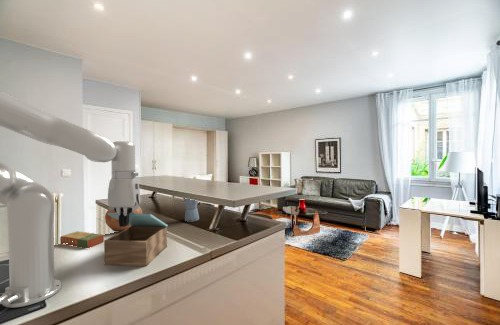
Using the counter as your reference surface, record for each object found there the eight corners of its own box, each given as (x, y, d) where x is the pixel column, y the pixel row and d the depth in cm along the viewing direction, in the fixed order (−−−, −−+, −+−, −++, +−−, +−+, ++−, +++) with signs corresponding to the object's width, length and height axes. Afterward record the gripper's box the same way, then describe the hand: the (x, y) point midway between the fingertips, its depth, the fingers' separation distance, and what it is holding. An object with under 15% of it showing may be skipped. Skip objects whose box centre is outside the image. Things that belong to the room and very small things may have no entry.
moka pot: (177, 221, 142) (177, 189, 142) (196, 216, 155) (196, 186, 155) (187, 224, 137) (187, 190, 136) (206, 218, 150) (206, 187, 149)
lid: (150, 215, 87) (151, 211, 88) (107, 214, 88) (109, 210, 89) (167, 226, 103) (168, 222, 104) (131, 225, 104) (132, 221, 105)
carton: (78, 239, 113) (78, 230, 112) (104, 242, 108) (104, 233, 108) (59, 245, 105) (59, 236, 104) (87, 249, 100) (87, 239, 100)
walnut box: (146, 266, 85) (146, 242, 85) (104, 264, 86) (104, 240, 86) (166, 246, 103) (166, 226, 103) (132, 245, 104) (131, 225, 104)
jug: (97, 230, 124) (96, 193, 124) (128, 222, 140) (128, 189, 140) (118, 236, 116) (118, 196, 115) (149, 226, 132) (149, 191, 131)
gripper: (148, 175, 87) (149, 223, 88) (110, 174, 88) (111, 222, 89) (137, 176, 80) (138, 229, 80) (96, 176, 81) (97, 228, 81)
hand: (124, 225), depth 85 cm, fingers closed
